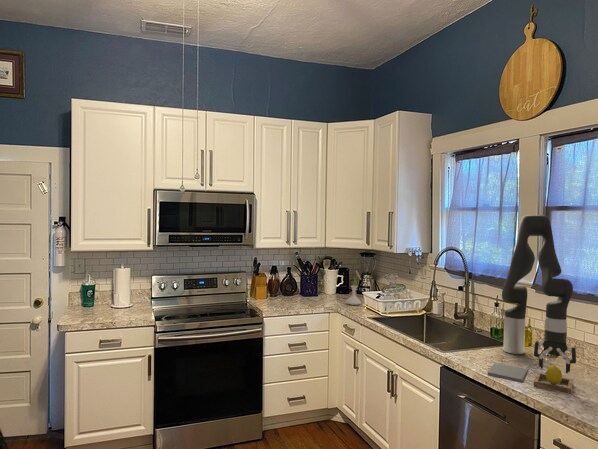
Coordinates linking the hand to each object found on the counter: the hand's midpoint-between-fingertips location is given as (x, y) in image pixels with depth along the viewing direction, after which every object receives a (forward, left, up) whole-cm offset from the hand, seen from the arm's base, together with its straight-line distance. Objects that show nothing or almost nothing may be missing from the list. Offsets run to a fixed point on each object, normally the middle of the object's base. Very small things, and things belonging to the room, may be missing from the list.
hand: (554, 370), depth 172 cm
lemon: (0, 0, -6) cm, 6 cm away
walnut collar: (0, 0, -6) cm, 6 cm away
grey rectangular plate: (-4, -17, -6) cm, 19 cm away
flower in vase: (-92, -135, -6) cm, 164 cm away
